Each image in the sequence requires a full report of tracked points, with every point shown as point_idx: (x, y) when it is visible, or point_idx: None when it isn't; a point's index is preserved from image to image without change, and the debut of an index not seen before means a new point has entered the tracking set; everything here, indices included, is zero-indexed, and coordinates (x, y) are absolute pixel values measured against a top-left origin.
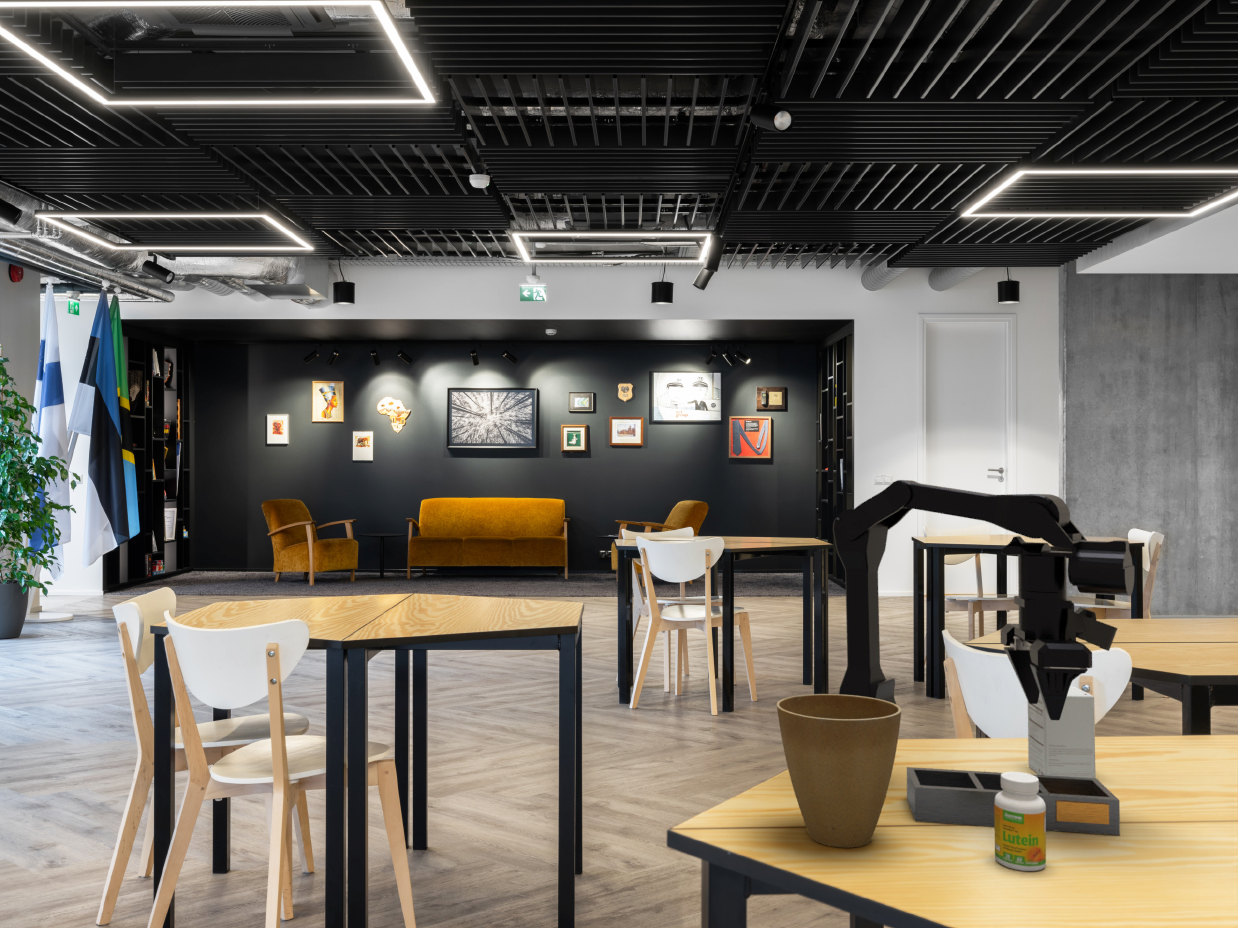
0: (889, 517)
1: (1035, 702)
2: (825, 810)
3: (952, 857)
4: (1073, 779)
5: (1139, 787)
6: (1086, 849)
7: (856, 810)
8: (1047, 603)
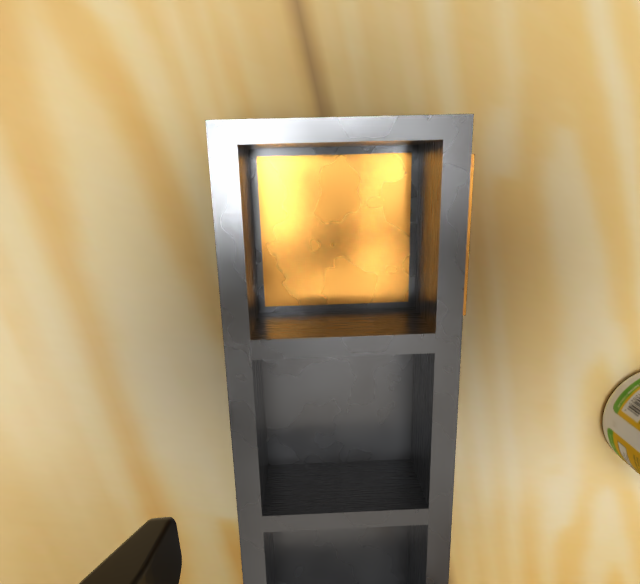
0: None
1: (177, 534)
2: None
3: (630, 533)
4: (242, 212)
5: None
6: (555, 248)
7: None
8: None
